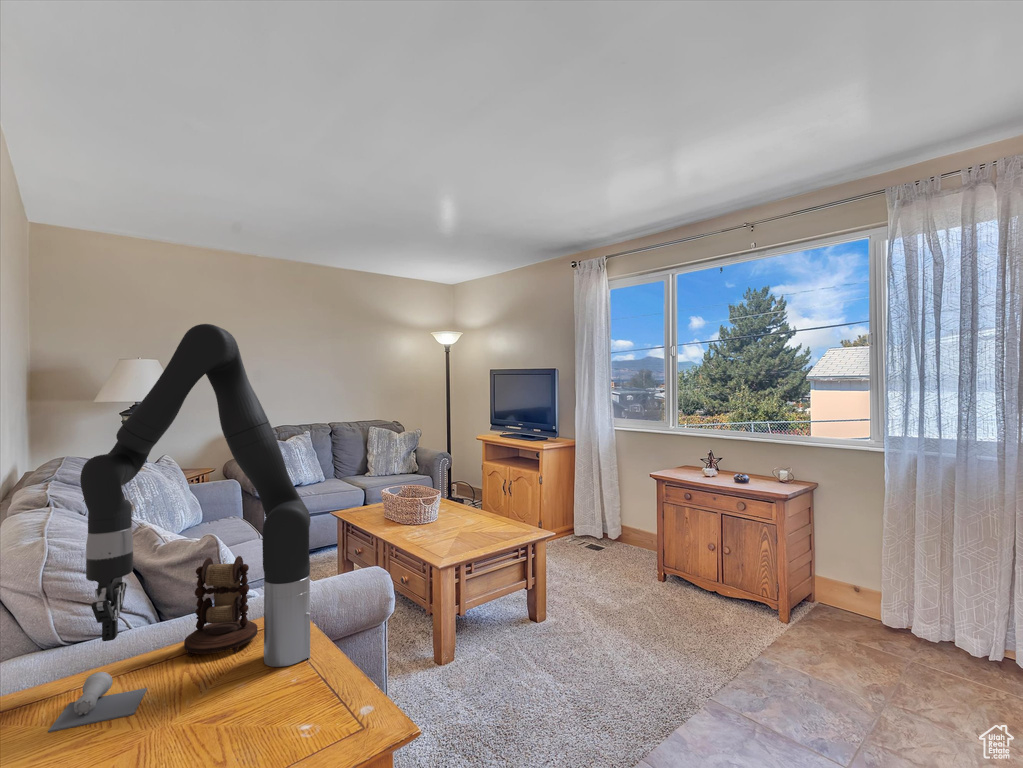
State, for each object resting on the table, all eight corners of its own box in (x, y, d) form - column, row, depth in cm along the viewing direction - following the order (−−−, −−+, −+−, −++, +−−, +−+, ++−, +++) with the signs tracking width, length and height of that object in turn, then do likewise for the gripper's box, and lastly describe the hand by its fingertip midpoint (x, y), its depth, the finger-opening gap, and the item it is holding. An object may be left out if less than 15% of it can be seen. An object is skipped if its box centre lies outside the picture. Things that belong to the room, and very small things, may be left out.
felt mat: (147, 689, 100) (147, 687, 100) (133, 714, 91) (133, 712, 91) (69, 704, 95) (69, 702, 95) (48, 732, 87) (48, 730, 87)
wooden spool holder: (266, 628, 126) (266, 547, 127) (243, 657, 112) (244, 565, 113) (202, 633, 124) (203, 550, 125) (170, 663, 110) (171, 569, 111)
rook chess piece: (102, 697, 98) (86, 724, 91) (79, 688, 97) (60, 715, 89) (119, 676, 99) (104, 701, 91) (96, 666, 97) (79, 691, 90)
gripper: (122, 558, 99) (122, 649, 98) (141, 542, 111) (141, 623, 111) (74, 564, 96) (73, 657, 95) (98, 546, 108) (98, 630, 108)
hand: (110, 639), depth 103 cm, fingers closed
